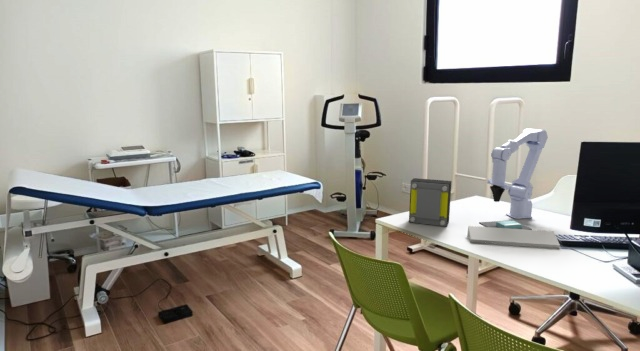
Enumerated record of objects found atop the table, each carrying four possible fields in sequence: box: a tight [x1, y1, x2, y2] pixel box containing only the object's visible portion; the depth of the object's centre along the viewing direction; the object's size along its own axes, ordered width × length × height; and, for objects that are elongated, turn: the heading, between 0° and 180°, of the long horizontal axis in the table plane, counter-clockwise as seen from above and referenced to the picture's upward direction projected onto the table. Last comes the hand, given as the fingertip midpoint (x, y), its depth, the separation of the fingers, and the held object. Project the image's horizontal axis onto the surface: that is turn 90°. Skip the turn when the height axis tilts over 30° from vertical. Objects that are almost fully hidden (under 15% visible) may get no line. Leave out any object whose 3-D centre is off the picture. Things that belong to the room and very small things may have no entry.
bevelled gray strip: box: [467, 225, 561, 249], centre depth 191 cm, size 34×5×10 cm
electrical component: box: [408, 177, 452, 227], centre depth 215 cm, size 18×10×20 cm, turn 68°
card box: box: [496, 220, 523, 229], centre depth 210 cm, size 9×2×6 cm
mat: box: [478, 219, 533, 230], centre depth 212 cm, size 18×14×1 cm
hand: (496, 201), depth 217 cm, fingers closed
